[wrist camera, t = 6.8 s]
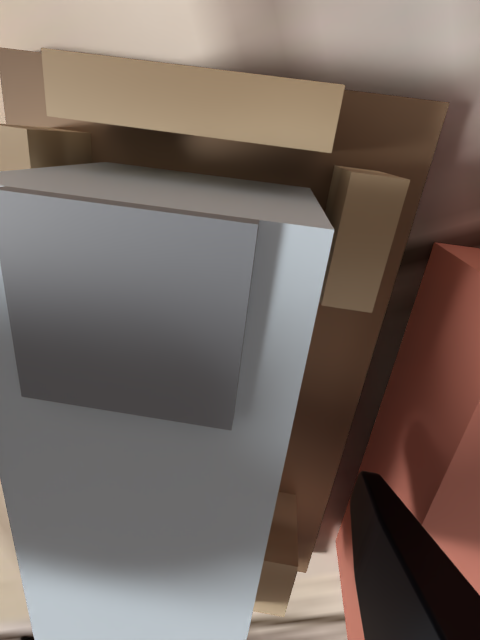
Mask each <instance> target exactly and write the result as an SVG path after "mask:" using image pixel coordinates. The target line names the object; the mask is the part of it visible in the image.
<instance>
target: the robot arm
mask: <svg viewBox="0 0 480 640" xmlns="http://www.w3.org/2000/svg"><path fill="white" fill-rule="evenodd" d="M350 515H351V531H352V547H353V564H354V577H355V584H356V591H357V597H358V603H359V609H360V615H361V621H362V627H363V633H364V639H365V640H480V595H479V594H478V593H477V591H476V590H475V589H474V588H473V586H472V585H471V584H470V583H469V582H468V580H467V579H466V578H465V577H464V576H463V574H462V573H461V572H460V571H459V570H458V568H457V567H456V566H455V565H454V564H453V562H452V561H451V560H450V559H449V557H448V556H447V555H446V554H445V553H444V551H443V550H442V549H441V548H440V547H439V545H438V544H437V543H436V542H435V541H434V539H433V538H432V537H431V536H430V534H429V533H428V532H427V531H426V530H425V528H424V527H423V526H422V525H421V524H420V522H419V521H418V520H417V519H416V518H415V516H414V515H413V514H412V513H411V511H410V510H409V509H408V508H407V507H406V505H405V504H404V503H403V502H402V501H401V499H400V498H399V497H398V496H397V495H396V493H395V492H394V491H393V490H392V488H391V487H390V486H389V485H388V484H387V482H386V481H385V480H384V479H383V478H382V476H381V475H379V474H378V473H373V472H368V471H361V472H360V473H359V474H358V477H357V480H356V483H355V486H354V489H353V491H352V494H351V499H350Z"/></svg>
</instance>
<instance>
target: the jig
mask: <svg viewBox="0 0 480 640" xmlns="http://www.w3.org/2000/svg"><path fill="white" fill-rule="evenodd" d="M0 78H1V86H2V94H3V102H4V110H5V118H6V124H0V171H10V170H21V169H32V168H43V167H54V166H65V165H76V164H87V163H98V162H110V163H118V164H126V165H134V166H142V167H150V168H157V169H165V170H173V171H181V172H189V173H197V174H204V175H212V176H220V177H228V178H236V179H243V180H251V181H259V182H267V183H275V184H283V185H290V186H298V187H306V188H310V189H311V191H312V192H313V194H314V196H315V197H316V199H317V201H318V203H319V204H320V206H321V208H322V209H323V211H324V213H325V215H326V216H327V218H328V220H329V221H330V223H331V225H332V227H333V228H334V234H333V239H332V244H331V248H330V253H329V258H328V262H327V267H326V272H325V276H324V281H323V286H322V290H321V295H320V300H319V304H318V309H317V314H316V318H315V323H314V328H313V332H312V337H311V342H310V346H309V351H308V356H307V360H306V365H305V370H304V374H303V379H302V384H301V388H300V393H299V398H298V402H297V407H296V412H295V416H294V421H293V426H292V430H291V435H290V440H289V444H288V449H287V454H286V458H285V463H284V468H283V472H282V477H281V482H280V486H279V491H278V496H277V500H276V505H275V510H274V514H273V519H272V524H271V528H270V533H269V538H268V542H267V547H266V552H265V556H264V561H263V566H262V570H261V575H260V580H259V584H258V589H257V594H256V598H255V603H254V608H253V611H255V612H260V613H265V614H270V615H276V616H281V617H284V615H285V612H286V609H287V605H288V602H289V598H290V595H291V591H292V588H293V584H294V581H295V577H296V574H297V571H299V572H304V573H306V571H307V568H308V565H309V561H310V558H311V555H312V552H313V548H314V545H315V542H316V538H317V535H318V532H319V529H320V525H321V522H322V519H323V516H324V512H325V509H326V506H327V502H328V499H329V496H330V493H331V489H332V486H333V483H334V480H335V476H336V473H337V470H338V466H339V463H340V460H341V457H342V453H343V450H344V447H345V443H346V440H347V437H348V434H349V430H350V427H351V424H352V421H353V417H354V414H355V411H356V407H357V404H358V401H359V398H360V394H361V391H362V388H363V385H364V381H365V378H366V375H367V371H368V368H369V365H370V362H371V358H372V355H373V352H374V349H375V345H376V342H377V339H378V335H379V332H380V329H381V326H382V322H383V319H384V316H385V312H386V309H387V306H388V303H389V299H390V296H391V293H392V290H393V286H394V283H395V280H396V276H397V273H398V270H399V267H400V263H401V260H402V257H403V254H404V250H405V247H406V244H407V240H408V237H409V234H410V231H411V227H412V224H413V221H414V217H415V214H416V211H417V208H418V204H419V201H420V198H421V195H422V191H423V188H424V185H425V181H426V178H427V175H428V172H429V168H430V165H431V162H432V159H433V155H434V152H435V149H436V145H437V142H438V139H439V136H440V132H441V129H442V126H443V123H444V119H445V116H446V113H447V109H448V106H449V103H450V102H441V101H433V100H425V99H417V98H409V97H400V96H392V95H384V94H376V93H368V92H360V91H351V90H344V88H345V85H342V84H334V83H326V82H318V81H310V80H301V79H293V78H285V77H277V76H269V75H260V74H252V73H244V72H236V71H227V70H219V69H211V68H203V67H195V66H186V65H178V64H170V63H162V62H153V61H145V60H137V59H129V58H121V57H112V56H104V55H96V54H88V53H80V52H71V51H63V50H55V49H47V48H41V52H33V51H24V50H16V49H8V48H0Z"/></svg>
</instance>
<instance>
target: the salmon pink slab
mask: <svg viewBox="0 0 480 640" xmlns="http://www.w3.org/2000/svg"><path fill="white" fill-rule="evenodd" d="M361 471H368V472H373V473H378V474H379V475H381V476H382V478H383V479H384V480H385V481H386V482H387V484H388V485H389V486H390V487H391V488H392V490H393V491H394V492H395V493H396V495H397V496H398V497H399V498H400V499H401V501H402V502H403V503H404V504H405V505H406V507H407V508H408V509H409V510H410V511H411V513H412V514H413V515H414V516H415V518H416V519H417V520H418V521H419V522H420V524H421V525H422V526H423V527H424V528H425V530H426V531H427V532H428V533H429V534H430V536H431V537H432V538H433V539H434V541H435V542H436V543H437V544H438V545H439V547H440V548H441V549H442V550H443V551H444V553H445V554H446V555H447V556H448V557H449V559H450V560H451V561H452V562H453V564H454V565H455V566H456V567H457V568H458V570H459V571H460V572H461V573H462V574H463V576H464V577H465V578H466V579H467V580H468V582H469V583H470V584H471V585H472V586H473V588H474V589H475V590H476V591H477V593H478V594H479V595H480V248H474V247H466V246H459V245H451V244H444V243H437V242H434V245H433V248H432V251H431V254H430V257H429V260H428V263H427V266H426V269H425V272H424V275H423V278H422V281H421V284H420V287H419V290H418V293H417V296H416V299H415V302H414V305H413V308H412V311H411V314H410V317H409V320H408V324H407V327H406V330H405V333H404V336H403V339H402V342H401V345H400V348H399V351H398V354H397V357H396V360H395V363H394V366H393V369H392V372H391V375H390V378H389V381H388V384H387V387H386V390H385V393H384V396H383V399H382V402H381V405H380V408H379V411H378V414H377V417H376V420H375V423H374V426H373V429H372V432H371V436H370V439H369V442H368V445H367V448H366V451H365V454H364V457H363V460H362V463H361V466H360V469H359V472H358V474H359V473H360V472H361ZM357 477H358V475H357ZM356 480H357V478H356ZM355 483H356V481H355ZM354 486H355V484H354ZM353 489H354V487H353ZM352 491H353V490H352ZM351 494H352V493H351ZM350 499H351V496H350ZM350 499H349V502H348V505H347V508H346V511H345V514H344V517H343V520H342V523H341V526H340V529H339V532H338V535H337V538H336V548H337V556H338V564H339V573H340V581H341V589H342V597H343V605H344V613H345V621H346V629H347V637H348V640H365V639H364V633H363V627H362V621H361V615H360V609H359V603H358V597H357V591H356V584H355V577H354V564H353V547H352V531H351V515H350Z"/></svg>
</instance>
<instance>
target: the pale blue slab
mask: <svg viewBox="0 0 480 640" xmlns="http://www.w3.org/2000/svg"><path fill="white" fill-rule="evenodd" d="M333 234H334V228H333V227H332V225H331V223H330V221H329V220H328V218H327V216H326V215H325V213H324V211H323V209H322V208H321V206H320V204H319V203H318V201H317V199H316V197H315V196H314V194H313V192H312V191H311V189H310V188H306V187H298V186H290V185H283V184H275V183H267V182H259V181H251V180H243V179H236V178H228V177H220V176H212V175H204V174H197V173H189V172H181V171H173V170H165V169H157V168H150V167H142V166H134V165H126V164H118V163H110V162H98V163H87V164H76V165H65V166H54V167H43V168H32V169H21V170H10V171H0V479H1V484H2V489H3V493H4V498H5V503H6V508H7V512H8V517H9V522H10V527H11V531H12V536H13V541H14V546H15V550H16V555H17V560H18V565H19V569H20V574H21V579H22V584H23V588H24V593H25V598H26V603H27V607H28V612H29V617H30V622H31V626H32V631H33V636H34V640H247V636H248V631H249V626H250V622H251V617H252V612H253V608H254V603H255V598H256V594H257V589H258V584H259V580H260V575H261V570H262V566H263V561H264V556H265V552H266V547H267V542H268V538H269V533H270V528H271V524H272V519H273V514H274V510H275V505H276V500H277V496H278V491H279V486H280V482H281V477H282V472H283V468H284V463H285V458H286V454H287V449H288V444H289V440H290V435H291V430H292V426H293V421H294V416H295V412H296V407H297V402H298V398H299V393H300V388H301V384H302V379H303V374H304V370H305V365H306V360H307V356H308V351H309V346H310V342H311V337H312V332H313V328H314V323H315V318H316V314H317V309H318V304H319V300H320V295H321V290H322V286H323V281H324V276H325V272H326V267H327V262H328V258H329V253H330V248H331V244H332V239H333Z"/></svg>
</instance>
